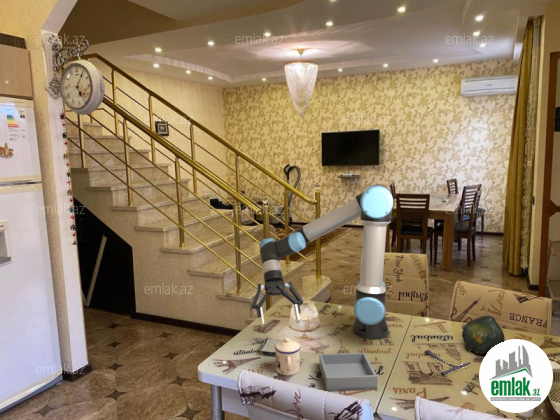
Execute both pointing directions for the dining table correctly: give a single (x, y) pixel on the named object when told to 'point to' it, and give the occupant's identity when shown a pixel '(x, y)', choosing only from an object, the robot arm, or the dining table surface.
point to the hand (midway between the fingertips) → (280, 323)
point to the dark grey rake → (446, 363)
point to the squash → (482, 334)
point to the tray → (347, 372)
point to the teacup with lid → (287, 357)
